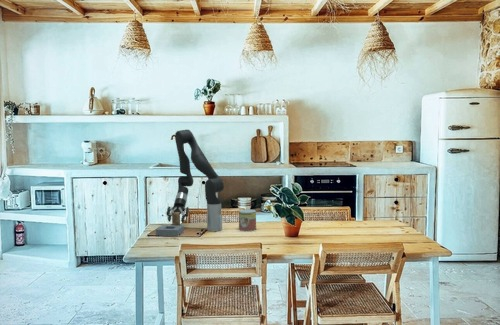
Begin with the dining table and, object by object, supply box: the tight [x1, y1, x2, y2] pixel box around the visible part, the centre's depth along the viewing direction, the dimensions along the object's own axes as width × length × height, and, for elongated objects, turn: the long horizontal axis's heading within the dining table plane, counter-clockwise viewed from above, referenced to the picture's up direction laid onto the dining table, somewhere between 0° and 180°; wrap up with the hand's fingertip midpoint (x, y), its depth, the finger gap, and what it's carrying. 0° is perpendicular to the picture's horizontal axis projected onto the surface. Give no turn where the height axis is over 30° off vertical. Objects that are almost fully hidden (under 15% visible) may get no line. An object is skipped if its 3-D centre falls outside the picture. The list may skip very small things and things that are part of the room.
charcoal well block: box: [155, 224, 185, 237], centre depth 276 cm, size 14×12×4 cm
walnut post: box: [171, 212, 181, 226], centre depth 288 cm, size 4×4×11 cm
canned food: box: [238, 208, 257, 232], centre depth 286 cm, size 11×11×12 cm
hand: (175, 221), depth 287 cm, fingers open, 8 cm apart
